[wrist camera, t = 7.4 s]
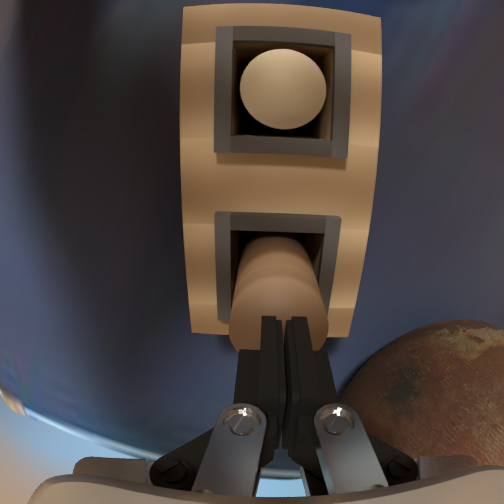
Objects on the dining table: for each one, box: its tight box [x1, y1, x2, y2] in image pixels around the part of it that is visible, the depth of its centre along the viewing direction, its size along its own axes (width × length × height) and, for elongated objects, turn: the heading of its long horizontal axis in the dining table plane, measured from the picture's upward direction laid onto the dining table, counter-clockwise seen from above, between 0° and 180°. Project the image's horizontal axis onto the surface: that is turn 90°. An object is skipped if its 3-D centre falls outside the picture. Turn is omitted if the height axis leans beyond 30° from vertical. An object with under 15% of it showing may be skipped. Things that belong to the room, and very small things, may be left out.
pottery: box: [338, 320, 504, 466], centre depth 17 cm, size 23×23×25 cm
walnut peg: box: [229, 231, 329, 353], centre depth 15 cm, size 4×4×7 cm
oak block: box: [180, 3, 382, 337], centre depth 18 cm, size 19×10×7 cm, turn 179°
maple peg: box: [240, 49, 326, 129], centre depth 16 cm, size 4×4×7 cm
